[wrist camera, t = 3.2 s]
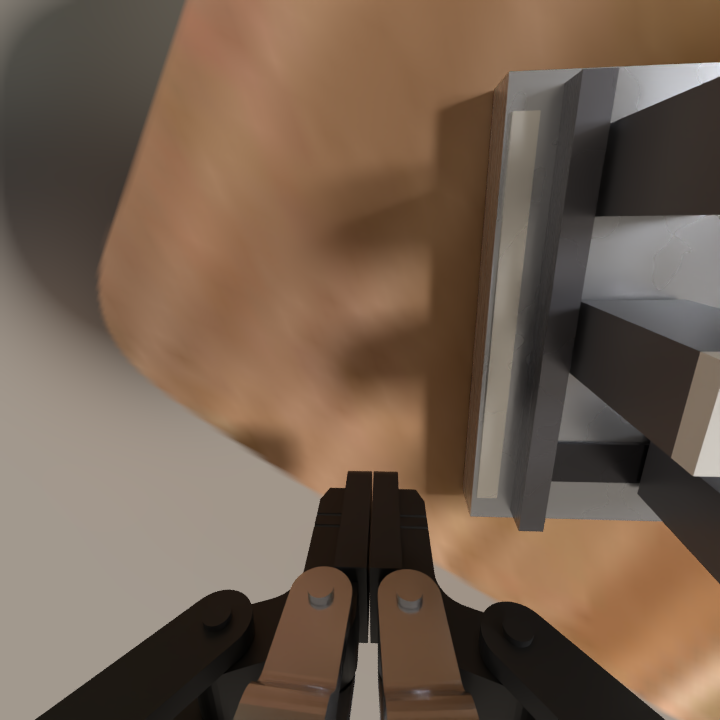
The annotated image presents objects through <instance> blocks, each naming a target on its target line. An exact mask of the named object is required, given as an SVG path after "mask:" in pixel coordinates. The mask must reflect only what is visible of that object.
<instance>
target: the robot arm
mask: <svg viewBox="0 0 720 720" xmlns="http://www.w3.org/2000/svg"><path fill="white" fill-rule="evenodd" d="M369 601H370V635H371V643H378V689H379V706H380V707H379V708H380V720H664V718H662V717H661V716H660V715H659V714H658V713H656V712H655V711H654V710H653V709H652V708H650V707H649V706H648V705H647V704H645V703H644V702H643V701H642V700H641V699H639V698H638V697H637V696H636V695H635V694H633V693H632V692H631V691H630V690H629V689H627V688H626V687H625V686H624V685H623V684H621V683H620V682H619V681H618V680H617V679H615V678H614V677H613V676H612V675H610V674H609V673H608V672H607V671H606V670H604V669H603V668H602V667H601V666H600V665H598V664H597V663H596V662H595V661H594V660H592V659H591V658H590V657H589V656H588V655H586V654H585V653H584V652H583V651H582V650H580V649H579V648H578V647H577V646H575V645H574V644H573V643H572V642H571V641H569V640H568V639H567V638H566V637H565V636H563V635H562V634H561V633H560V632H559V631H557V630H556V629H555V628H554V627H553V626H551V625H550V624H549V623H548V622H547V621H545V620H544V619H543V618H542V617H540V616H539V615H538V614H537V613H535V612H534V611H533V610H531V609H529V608H528V607H526V606H523V605H521V604H518V603H514V602H498V603H495V604H492V605H491V606H489V607H488V608H487V609H486V610H485V612H481V611H478V610H474V609H472V608H469V607H466V606H464V605H461V604H459V603H457V602H455V601H454V600H452V599H451V598H450V597H448V596H447V595H446V594H445V593H444V592H443V590H442V589H441V588H440V586H439V585H438V583H437V581H436V578H435V574H434V567H433V560H432V553H431V546H430V539H429V531H428V524H427V518H426V510H425V503H424V500H423V499H422V498H421V496H420V495H419V494H418V492H417V491H416V490H409V489H398V472H378V471H374V478H373V501H372V471H348V474H347V481H346V488H330V489H329V490H328V491H327V492H326V493H325V495H324V496H323V497H322V498H321V499H320V504H319V508H318V512H317V517H316V521H315V527H314V530H313V534H312V538H311V543H310V547H309V551H308V556H307V560H306V564H305V569H304V572H303V573H302V574H301V575H300V576H299V577H298V578H297V579H296V580H295V582H294V583H293V585H292V587H291V589H290V590H289V591H288V592H286V593H285V594H283V595H281V596H278V597H276V598H273V599H269V600H266V601H262V602H258V603H255V604H251V603H250V600H249V599H248V598H247V597H246V596H245V595H244V594H243V593H241V592H239V591H235V590H222V591H217V592H214V593H212V594H210V595H208V596H206V597H204V598H203V599H201V600H200V601H198V602H197V603H195V604H194V605H193V606H191V607H190V608H189V609H187V610H186V611H184V612H183V613H182V614H180V615H179V616H178V617H176V618H175V619H174V620H172V621H171V622H169V623H168V624H166V625H165V626H164V627H162V628H161V629H160V630H158V631H157V632H155V633H154V634H153V635H151V636H150V637H149V638H147V639H146V640H144V641H143V642H142V643H140V644H139V645H138V646H136V647H135V648H133V649H132V650H131V651H129V652H128V653H126V654H125V655H124V656H122V657H121V658H120V659H118V660H117V661H115V662H114V663H113V664H111V665H110V666H109V667H107V668H106V669H104V670H103V671H102V672H100V673H99V674H97V675H96V676H95V677H93V678H92V679H91V680H89V681H88V682H86V683H85V684H84V685H82V686H81V687H80V688H78V689H77V690H76V691H74V692H73V693H71V694H70V695H69V696H67V697H66V698H64V699H63V700H62V701H60V702H59V703H57V704H56V705H55V706H53V707H52V708H51V709H49V710H48V711H46V712H45V713H44V714H42V715H41V716H39V717H38V718H37V719H35V720H350V712H351V706H352V698H353V691H354V684H355V671H356V669H357V661H358V645H359V643H368V624H369Z"/></svg>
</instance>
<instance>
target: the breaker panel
mask: <svg viewBox="0 0 720 720" xmlns="http://www.w3.org/2000/svg"><path fill="white" fill-rule="evenodd" d="M719 76H720V62H714V63H691V64H669V65H646V66H623V67H600V68H578V69H555V70H532V71H509V73H508V74H507V75H506V76H505V77H504V79H503V80H502V81H501V82H500V83H499V85H498V86H497V87H496V88H495V89H494V99H493V111H492V124H491V137H490V150H489V163H488V175H487V188H486V201H485V214H484V226H483V239H482V252H481V265H480V277H479V290H478V303H477V316H476V329H475V341H474V354H473V367H472V380H471V392H470V405H469V418H468V431H467V444H466V456H465V469H464V482H463V492H464V496H465V499H466V503H467V507H468V510H469V514H470V516H479V517H513V518H514V521H515V523H516V525H517V528H518V530H519V531H542V532H543V529H544V523H545V518H555V519H594V520H632V521H662V520H661V519H660V518H659V517H658V516H657V515H656V514H655V513H654V512H653V510H652V509H651V508H650V507H649V506H648V505H647V504H646V503H645V502H644V501H643V500H642V498H641V497H640V496H639V495H638V494H637V492H638V489H639V485H640V481H641V477H642V473H643V469H644V465H645V461H646V457H647V453H648V449H649V445H650V440H649V439H648V438H647V437H645V436H644V435H643V434H642V433H641V432H639V431H638V430H637V429H636V428H635V427H634V426H632V425H631V424H630V423H629V422H628V421H626V420H625V419H624V418H623V417H622V416H620V415H619V414H618V413H617V412H616V411H614V410H613V409H612V408H611V407H610V406H608V405H607V404H606V403H605V402H604V401H602V400H601V399H600V398H599V397H598V396H596V395H595V394H594V393H593V392H592V391H590V390H589V389H588V388H587V387H586V386H584V385H583V384H582V383H581V382H580V381H578V380H577V379H576V378H575V377H574V376H573V375H571V374H570V373H569V371H570V365H571V359H572V353H573V347H574V341H575V335H576V329H577V322H578V316H579V310H580V304H581V300H681V299H686V300H690V301H694V302H698V303H701V304H705V305H709V306H713V307H716V308H720V215H672V216H599V217H595V213H596V207H597V201H598V195H599V189H600V183H601V177H602V171H603V165H604V159H605V153H606V146H607V140H608V134H609V128H610V123H612V122H614V121H617V120H619V119H621V118H624V117H626V116H628V115H631V114H633V113H635V112H638V111H640V110H642V109H645V108H647V107H649V106H652V105H654V104H656V103H659V102H661V101H663V100H666V99H668V98H670V97H673V96H675V95H677V94H680V93H682V92H684V91H687V90H689V89H691V88H694V87H696V86H698V85H701V84H703V83H705V82H708V81H710V80H712V79H715V78H717V77H719Z"/></svg>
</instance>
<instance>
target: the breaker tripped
mask: <svg viewBox="0 0 720 720" xmlns="http://www.w3.org/2000/svg"><path fill="white" fill-rule="evenodd" d="M637 494H638V495H639V496H640V497H641V498H642V500H643V501H644V502H645V503H646V504H647V505H648V506H649V507H650V508H651V509H652V510H653V512H654V513H655V514H656V515H657V516H658V517H659V518H660V519H661V520H662V521H663V522H664V524H665V525H666V526H667V527H668V528H669V529H670V530H671V531H672V532H673V533H674V534H675V536H676V537H677V538H678V539H679V540H680V541H681V542H682V543H683V544H684V545H685V546H686V548H687V549H688V550H689V551H690V552H691V553H692V554H693V555H694V556H695V557H696V558H697V560H698V561H699V562H700V563H701V564H702V565H703V566H704V567H705V568H706V569H707V570H708V572H709V573H710V574H711V575H712V576H713V577H714V578H715V579H716V580H717V581H718V582H719V584H720V477H703V476H692V475H691V474H690V473H689V472H687V471H686V470H685V469H684V468H683V467H681V466H680V465H679V464H678V463H677V462H675V461H674V460H673V459H672V458H671V457H669V456H668V455H667V454H666V453H665V452H663V451H662V450H661V449H660V448H659V447H657V446H656V445H655V444H654V443H653V442H651V441H650V445H649V449H648V453H647V457H646V461H645V465H644V469H643V473H642V477H641V481H640V485H639V489H638V492H637Z"/></svg>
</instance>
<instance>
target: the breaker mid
mask: <svg viewBox="0 0 720 720" xmlns="http://www.w3.org/2000/svg"><path fill="white" fill-rule="evenodd" d="M569 373H570V374H571V375H573V376H574V377H575V378H576V379H577V380H578V381H580V382H581V383H582V384H583V385H584V386H586V387H587V388H588V389H589V390H590V391H592V392H593V393H594V394H595V395H596V396H598V397H599V398H600V399H601V400H602V401H604V402H605V403H606V404H607V405H608V406H610V407H611V408H612V409H613V410H614V411H616V412H617V413H618V414H619V415H620V416H622V417H623V418H624V419H625V420H626V421H628V422H629V423H630V424H631V425H632V426H634V427H635V428H636V429H637V430H638V431H639V432H641V433H642V434H643V435H644V436H645V437H647V438H648V439H649V440H650V441H651V442H653V443H654V444H655V445H656V446H657V447H659V448H660V449H661V450H662V451H663V452H665V453H666V454H667V455H668V456H669V457H671V458H672V459H673V460H674V461H675V462H677V463H678V464H679V465H680V466H681V467H683V468H684V469H685V470H686V471H687V472H689V473H690V474H691V475H692V476H703V477H720V308H716V307H713V306H709V305H705V304H701V303H698V302H694V301H690V300H686V299H681V300H581V304H580V310H579V316H578V322H577V329H576V335H575V341H574V347H573V353H572V359H571V365H570V371H569Z"/></svg>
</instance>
